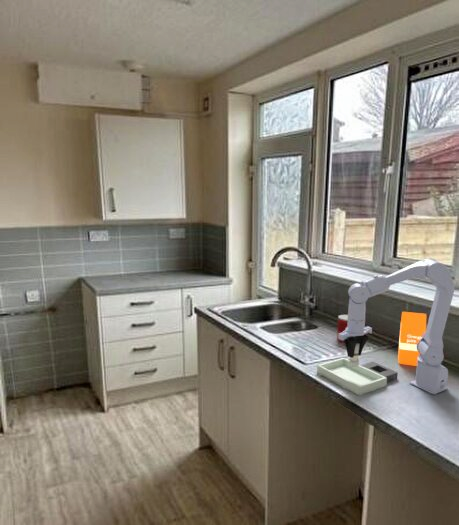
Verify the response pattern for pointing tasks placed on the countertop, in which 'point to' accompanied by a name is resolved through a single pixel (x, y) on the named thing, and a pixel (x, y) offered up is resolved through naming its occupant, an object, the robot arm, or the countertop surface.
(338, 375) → the parts tray
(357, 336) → the robot arm
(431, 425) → the countertop surface
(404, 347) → the orange juice
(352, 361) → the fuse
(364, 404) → the countertop surface
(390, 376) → the fuse holder
